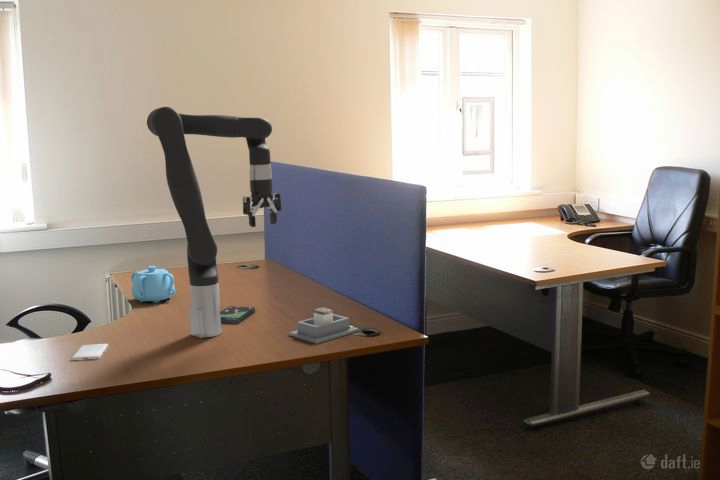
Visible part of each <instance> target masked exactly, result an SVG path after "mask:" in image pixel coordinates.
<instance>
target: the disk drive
mask: <svg viewBox="0 0 720 480" xmlns="http://www.w3.org/2000/svg"><path fill="white" fill-rule="evenodd" d="M254 314H256V307H255V306H239V307H238V306H237V307H236V305H235V306H233V305H231V306H227V307H226V308H224V309H222V310H220V315H221V324H238V325H239V324H241V323H242V322H244V321H245V320H247V319H248V318H250V317H252V315H254Z"/></svg>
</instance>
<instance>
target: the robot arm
mask: <svg viewBox="0 0 720 480" xmlns="http://www.w3.org/2000/svg"><path fill="white" fill-rule="evenodd" d="M146 127H147V129H148V130H149V131H150V132H151V133H152V134H153V135H154V136H156V137H158V140H159V142H160V146H161V148H162V151H163V154H164V160H165V161H164V162H165V176H166V178H165V179H166V182H167V187H168V190H169V194H170V196H171V199H172V202H173V205H174V207H175V209H176V212H177V214H178V216H179V218H180V221H181V222H182V225H183V228H184V231H185V236H186V237H185V238H186V241H187V243H186V244H187V245H186V256H187V269H188V278H189V290H190V292H189V293H190V304H191V305H190V306H189V307H188V313H189V329H190V335H191V336H193V337H197V338H199V339H203V338H211V337H216V336H220V335H221V334H222V332H223V331H222V323H221V315H220V312H221V305H220V304H221V303H220V301H221V300H220V286H219V285H220V284H219V272H218V267H217V266H218V265H217V255H218V246H217V244H216V243H217V242H216V241H215V240H214V237H213V235H212V233H211V232H212V231H211V230H210V227H209V224H208V222H207V217H206V212H205V207H204V202H203V197H202V192H201V189H200V185H199V181H198V178H197V176H196V173H195V168H194V165H193V163H192V159H191V156H190V154H189V151H188V147H187V143H186V138H185V135H194V136H195V135H197V136H199V135H200V136H208V137H216V138H217V137H218V138H229V139H230V138H235V139H236V138H245V141H246V144H247V148H248V152H249V153H248V156H249V158H248V159H249V160H248V161H249V172H248V173H249V191H250V193H251V194H250V196H243V197H242V214H243V215H244V216H245V215H247V216H248V225H249V226H250V227H251V228H256V227H257V226H256V225H257V223H256V216H255V215H256V214H257V212H258V211H259V210H260V209H262V208H266V209H268V211H270V213H269V215H270V216H269V217H270V218H269V219H270V224H271V225H276V224H277V221H278V218H277V217H278V216H277V215H278V214H277V213H278V212H279V211H282V203H281V202H282V200H281V194H280V193H279V192H278V193H277V192H275V193H273V192H272V191H273V189H274V188H273V172H272V166H271V164H272V163H271V151H270V148H269V147H268V146H267V142H266V139H267V138H268V137H269V136H271V134H272V132H273V126H272V123H271V122H270V121H269V120H268V119H266V118H264V117H241V116H236V115H235V116H234V115H225V114H207V115H206V114H199V115H198V114H184V113H179V112H178V110H176V109H175V108H173V107H171V106H161V107H158V108H155V109H153V110H152V111H151V112H150V113H149V114H148V116H147V119H146ZM272 200H273V202H272Z"/></svg>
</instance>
